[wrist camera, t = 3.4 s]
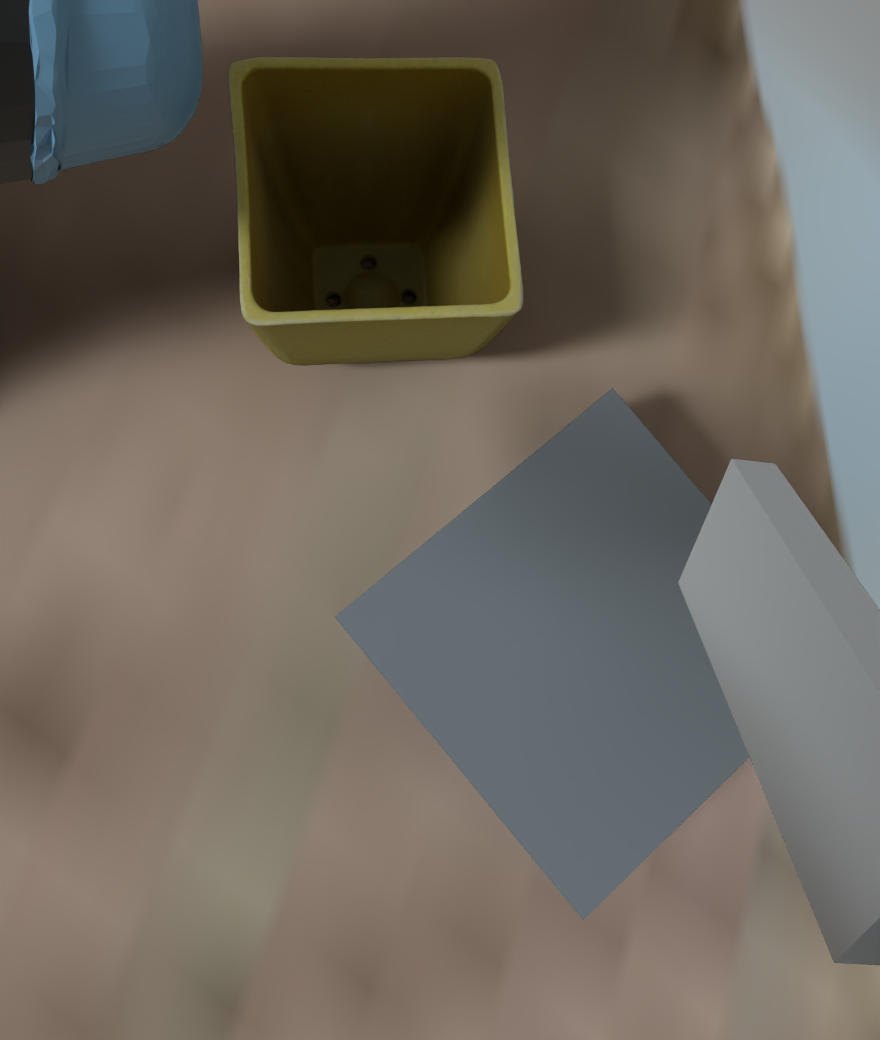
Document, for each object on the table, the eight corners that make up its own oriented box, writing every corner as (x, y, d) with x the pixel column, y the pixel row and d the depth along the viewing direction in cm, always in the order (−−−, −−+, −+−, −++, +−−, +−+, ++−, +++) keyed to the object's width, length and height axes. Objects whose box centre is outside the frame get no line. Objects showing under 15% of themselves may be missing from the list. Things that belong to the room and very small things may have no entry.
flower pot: (481, 398, 32) (527, 312, 23) (275, 409, 31) (239, 323, 22) (463, 207, 33) (500, 55, 24) (264, 212, 32) (226, 54, 23)
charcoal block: (546, 869, 29) (583, 920, 24) (339, 617, 30) (334, 616, 25) (770, 655, 31) (845, 662, 26) (574, 423, 32) (612, 388, 27)
